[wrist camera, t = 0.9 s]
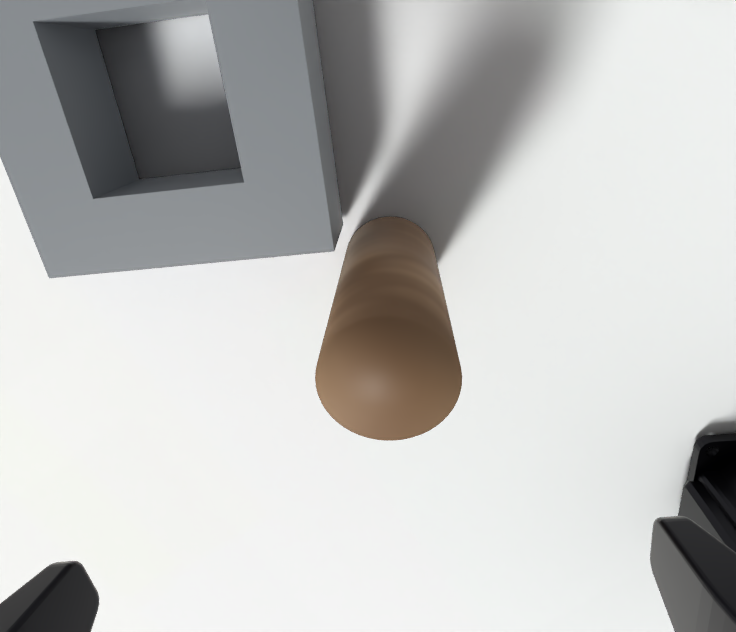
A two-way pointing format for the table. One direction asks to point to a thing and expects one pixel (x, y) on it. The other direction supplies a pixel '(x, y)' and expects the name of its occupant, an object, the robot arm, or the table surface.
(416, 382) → the peg
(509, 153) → the table surface
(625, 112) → the table surface
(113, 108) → the socket
